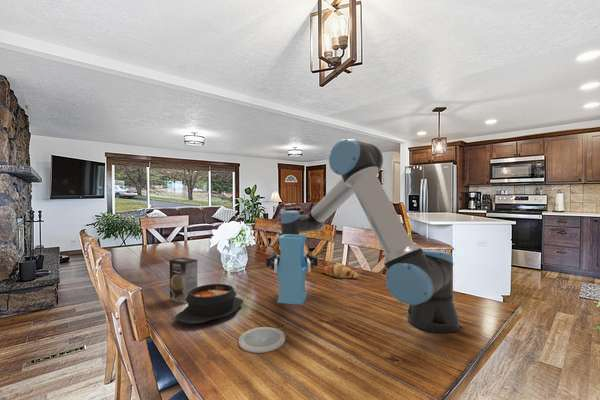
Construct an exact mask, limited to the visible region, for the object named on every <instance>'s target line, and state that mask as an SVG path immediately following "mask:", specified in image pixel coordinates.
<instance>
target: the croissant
mask: <svg viewBox="0 0 600 400" xmlns="http://www.w3.org/2000/svg"><path fill="white" fill-rule="evenodd" d="M321 271H322V272H323V273H324V274H325V275H326V276H329V277H332V278H337V279H357V278H359V274H358V273H357V272H356V271H355V270H353V269H352V268H351V267H350V266H345V264H343V263H341V262H334V263H333V264H330V265H329V266H324V267H323V266H322V267H321Z"/></svg>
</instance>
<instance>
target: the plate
mask: <svg viewBox="0 0 600 400" xmlns="http://www.w3.org/2000/svg"><path fill="white" fill-rule="evenodd" d="M285 342H286V334H285V332H283V331H282V330H281V329H279V328H277V327H276V328H275V327H270V326H269V327H268V326H260V327H259V326H258V327H255V328H251V329H249V330H245V331H244V332H243V333H241V334H240V335H239V337H238V346H239V347H240V348H241V349H242V350H243V351H246V352H249V353H255V354H262V353H269V352H274V351H275V350H278V349H280V348H281V347H282V346H283V345H284V344H285Z"/></svg>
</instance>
